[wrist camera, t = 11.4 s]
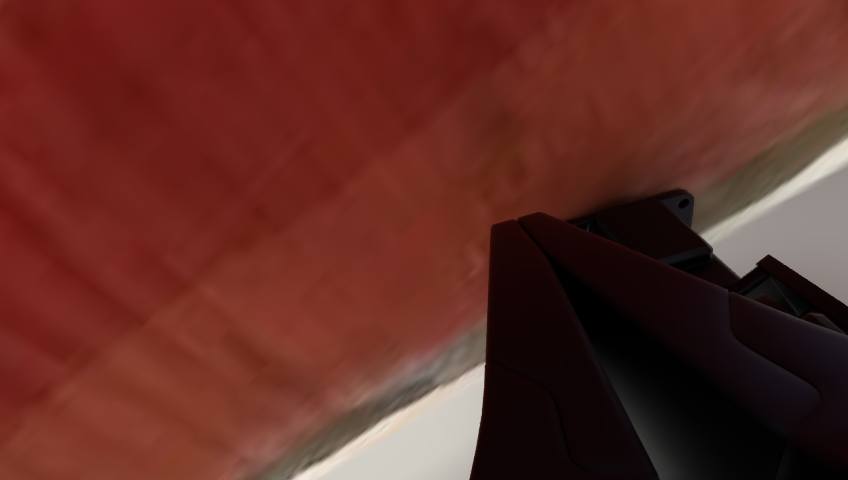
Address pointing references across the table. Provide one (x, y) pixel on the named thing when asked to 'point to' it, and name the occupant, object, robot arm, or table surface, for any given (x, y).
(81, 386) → the table surface
